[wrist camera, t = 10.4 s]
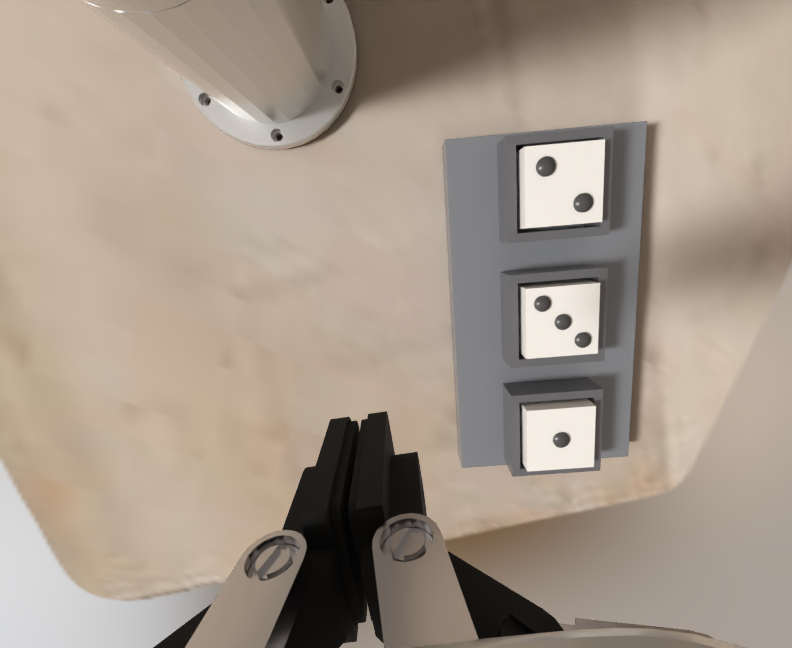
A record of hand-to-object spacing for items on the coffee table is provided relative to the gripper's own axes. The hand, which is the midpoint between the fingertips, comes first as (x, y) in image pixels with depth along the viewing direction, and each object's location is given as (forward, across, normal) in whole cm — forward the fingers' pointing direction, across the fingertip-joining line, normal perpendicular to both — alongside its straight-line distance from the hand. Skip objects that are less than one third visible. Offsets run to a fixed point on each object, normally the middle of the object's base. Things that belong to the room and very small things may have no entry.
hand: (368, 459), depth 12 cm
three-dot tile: (+19, -12, +2) cm, 23 cm away
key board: (+21, -12, +2) cm, 25 cm away
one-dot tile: (+19, -12, +11) cm, 25 cm away
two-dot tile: (+19, -13, -7) cm, 24 cm away
